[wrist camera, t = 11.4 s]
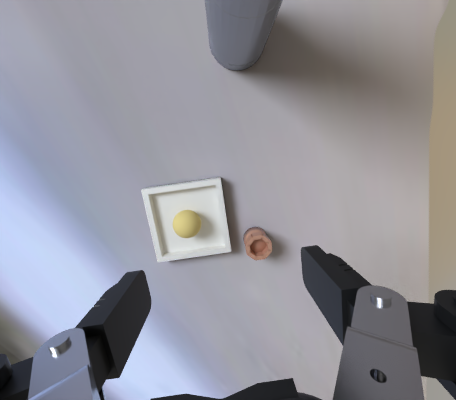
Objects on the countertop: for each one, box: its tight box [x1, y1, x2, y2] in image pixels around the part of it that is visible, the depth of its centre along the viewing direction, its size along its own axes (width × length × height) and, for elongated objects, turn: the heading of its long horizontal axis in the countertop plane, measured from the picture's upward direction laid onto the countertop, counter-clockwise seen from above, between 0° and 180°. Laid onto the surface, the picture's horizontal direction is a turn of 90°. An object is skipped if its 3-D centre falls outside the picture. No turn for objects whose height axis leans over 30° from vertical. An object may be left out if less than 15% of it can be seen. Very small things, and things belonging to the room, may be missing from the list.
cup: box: [243, 227, 272, 260], centre depth 40 cm, size 5×5×5 cm
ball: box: [173, 210, 201, 238], centre depth 38 cm, size 5×5×5 cm
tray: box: [141, 177, 231, 262], centre depth 40 cm, size 14×14×2 cm
